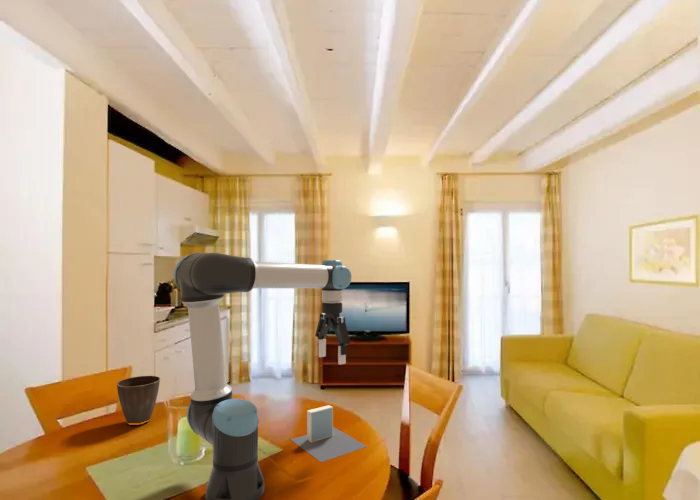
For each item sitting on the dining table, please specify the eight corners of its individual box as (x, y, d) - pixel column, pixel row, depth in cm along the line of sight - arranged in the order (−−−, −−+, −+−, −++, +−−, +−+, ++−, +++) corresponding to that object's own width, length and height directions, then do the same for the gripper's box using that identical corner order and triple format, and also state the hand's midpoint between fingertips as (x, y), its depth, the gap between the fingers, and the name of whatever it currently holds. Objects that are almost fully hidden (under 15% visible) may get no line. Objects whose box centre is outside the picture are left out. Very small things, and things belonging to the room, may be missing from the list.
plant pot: (106, 427, 155) (107, 384, 155) (137, 413, 169) (138, 374, 169) (139, 432, 150) (139, 388, 151) (168, 417, 164) (168, 377, 165)
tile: (310, 442, 140) (310, 412, 140) (307, 439, 142) (307, 410, 143) (333, 435, 146) (332, 407, 146) (329, 433, 148) (329, 405, 148)
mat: (321, 464, 127) (321, 462, 127) (290, 441, 143) (290, 439, 143) (367, 448, 137) (367, 446, 137) (333, 428, 153) (333, 426, 153)
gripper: (360, 304, 144) (360, 365, 143) (323, 298, 164) (323, 352, 164) (342, 305, 139) (341, 368, 139) (306, 299, 160) (306, 355, 159)
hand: (331, 360), depth 151 cm, fingers open, 13 cm apart
